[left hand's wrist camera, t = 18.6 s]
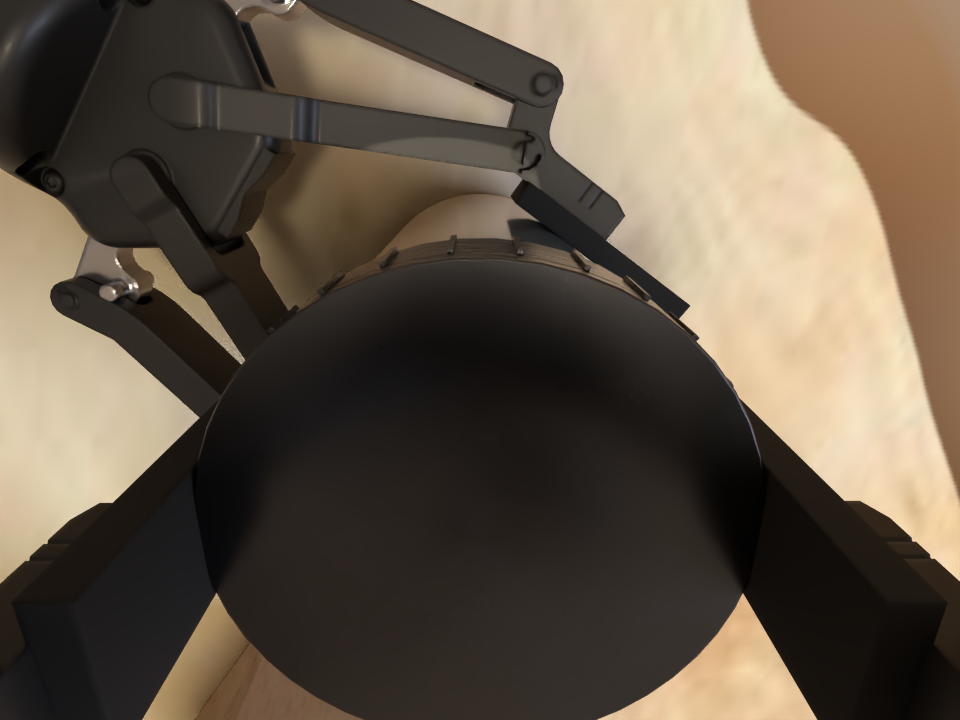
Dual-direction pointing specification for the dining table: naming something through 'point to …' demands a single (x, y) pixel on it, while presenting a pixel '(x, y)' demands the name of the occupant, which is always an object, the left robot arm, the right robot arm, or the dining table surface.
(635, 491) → the lid
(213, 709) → the wooden block
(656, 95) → the dining table surface
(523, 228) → the jar
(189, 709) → the dining table surface
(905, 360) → the dining table surface
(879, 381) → the dining table surface
